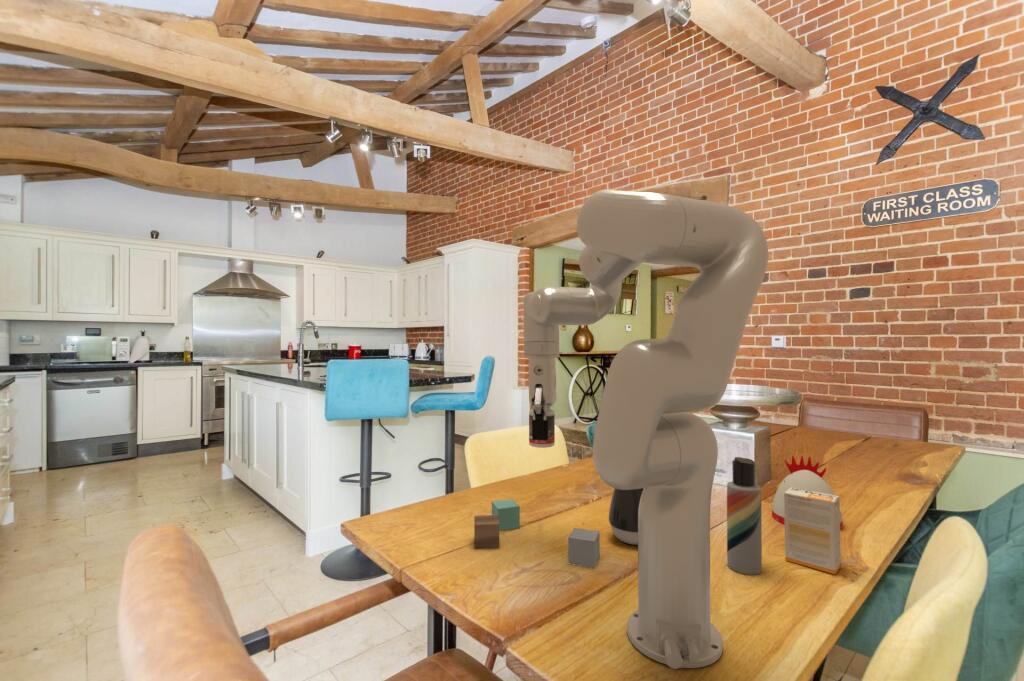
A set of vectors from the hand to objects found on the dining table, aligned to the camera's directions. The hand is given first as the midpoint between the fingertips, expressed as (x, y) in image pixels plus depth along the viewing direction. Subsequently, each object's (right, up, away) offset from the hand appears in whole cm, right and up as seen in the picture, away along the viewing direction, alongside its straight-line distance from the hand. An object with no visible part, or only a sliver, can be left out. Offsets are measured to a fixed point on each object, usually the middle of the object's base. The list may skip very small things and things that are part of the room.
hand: (542, 435), depth 99 cm
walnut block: (-12, -22, -2) cm, 25 cm away
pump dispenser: (+19, -22, 0) cm, 29 cm away
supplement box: (+50, -22, -11) cm, 55 cm away
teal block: (-8, -22, +8) cm, 24 cm away
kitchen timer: (+62, -22, +10) cm, 66 cm away
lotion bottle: (+36, -22, -13) cm, 44 cm away
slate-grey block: (+7, -22, -9) cm, 25 cm away
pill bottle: (0, -2, 0) cm, 2 cm away
